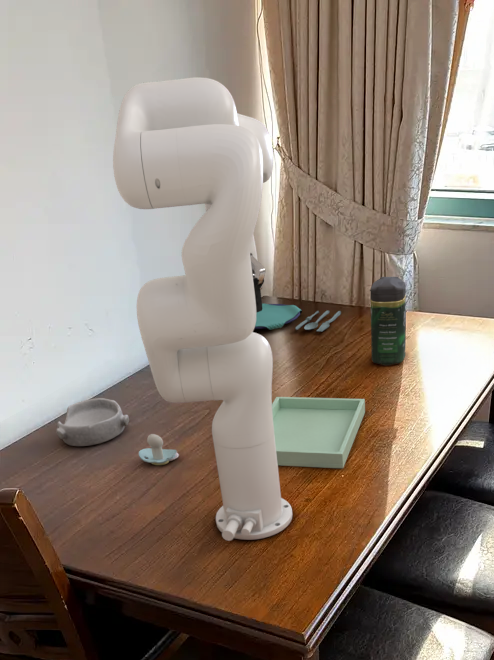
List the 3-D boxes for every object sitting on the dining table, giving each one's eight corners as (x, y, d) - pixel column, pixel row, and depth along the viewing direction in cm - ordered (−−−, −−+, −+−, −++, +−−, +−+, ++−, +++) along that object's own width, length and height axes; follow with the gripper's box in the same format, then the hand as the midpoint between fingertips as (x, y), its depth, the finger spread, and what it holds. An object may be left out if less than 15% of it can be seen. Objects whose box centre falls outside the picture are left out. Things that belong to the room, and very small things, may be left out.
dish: (61, 454, 154) (55, 431, 151) (59, 426, 165) (53, 404, 163) (133, 440, 156) (128, 417, 154) (127, 413, 168) (122, 392, 165)
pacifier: (150, 452, 151) (137, 466, 146) (144, 423, 148) (131, 436, 143) (185, 454, 149) (173, 468, 145) (180, 424, 146) (168, 438, 141)
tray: (343, 468, 139) (342, 454, 138) (244, 463, 144) (242, 449, 142) (365, 412, 158) (364, 398, 157) (277, 409, 163) (276, 396, 161)
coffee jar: (404, 366, 177) (403, 285, 167) (369, 366, 178) (367, 286, 169) (407, 351, 185) (407, 273, 175) (374, 351, 186) (372, 274, 177)
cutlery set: (249, 308, 224) (248, 300, 223) (346, 314, 212) (345, 306, 210) (215, 331, 209) (214, 323, 208) (316, 339, 197) (316, 330, 195)
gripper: (182, 210, 139) (196, 304, 148) (239, 220, 127) (250, 322, 136) (217, 202, 143) (228, 294, 152) (274, 211, 131) (283, 311, 140)
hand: (239, 307), depth 144 cm, fingers open, 9 cm apart
